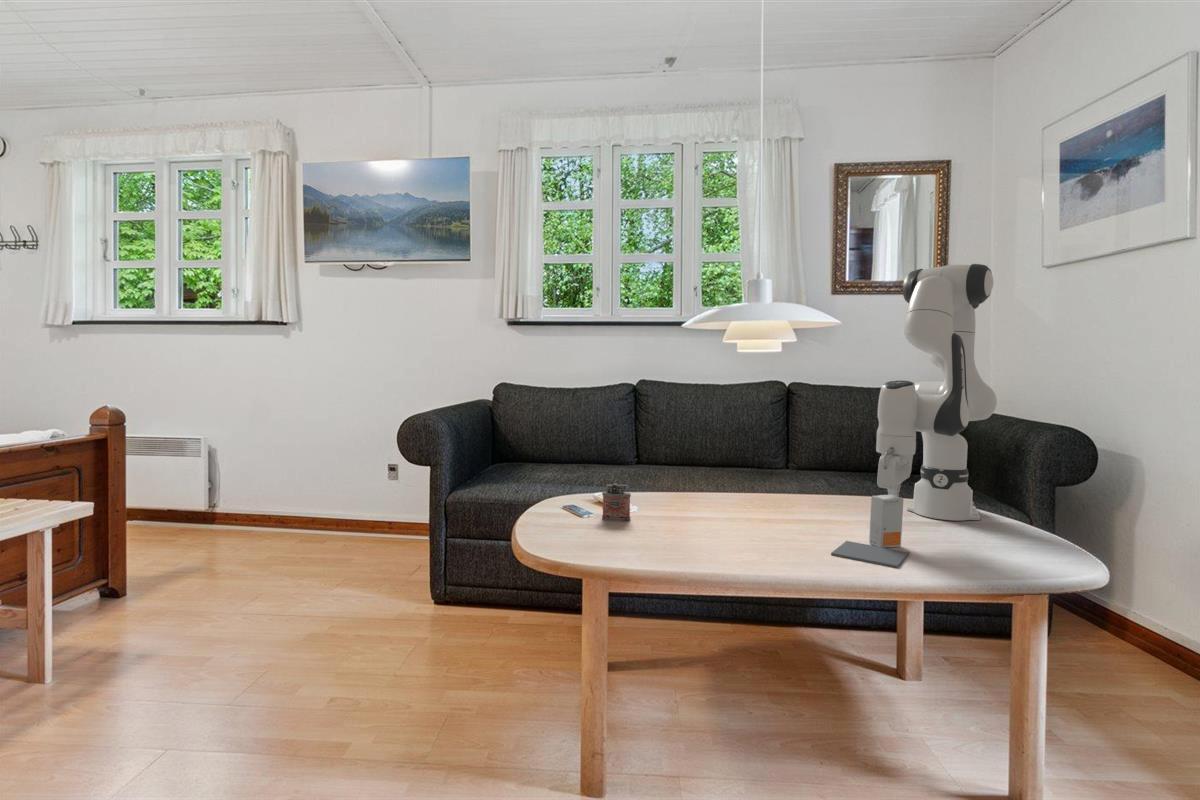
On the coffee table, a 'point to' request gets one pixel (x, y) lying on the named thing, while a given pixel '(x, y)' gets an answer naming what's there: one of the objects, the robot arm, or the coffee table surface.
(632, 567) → the coffee table surface
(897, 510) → the skincare box
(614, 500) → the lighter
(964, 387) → the robot arm
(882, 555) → the mat
